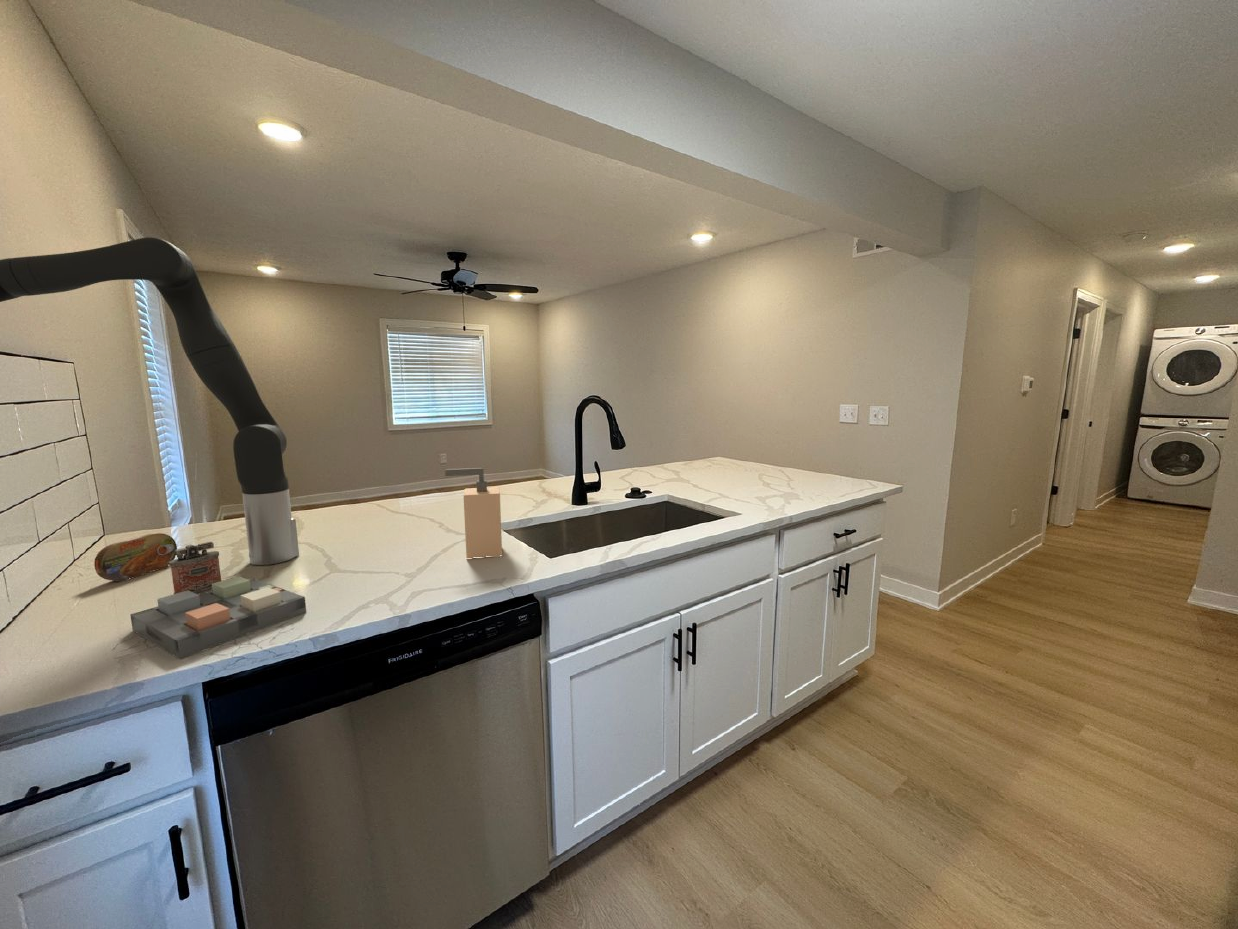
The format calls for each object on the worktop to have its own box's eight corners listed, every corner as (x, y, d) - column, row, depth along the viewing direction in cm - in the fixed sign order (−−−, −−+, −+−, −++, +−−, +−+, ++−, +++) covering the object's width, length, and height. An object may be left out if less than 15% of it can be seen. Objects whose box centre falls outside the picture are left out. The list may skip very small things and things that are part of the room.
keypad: (255, 592, 103) (253, 577, 102) (306, 612, 94) (304, 596, 93) (132, 630, 86) (130, 613, 86) (179, 659, 77) (177, 639, 77)
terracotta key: (218, 616, 87) (216, 602, 86) (230, 622, 84) (229, 608, 84) (187, 626, 83) (185, 612, 82) (199, 633, 81) (197, 618, 80)
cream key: (268, 599, 93) (267, 587, 93) (281, 604, 91) (280, 591, 91) (242, 608, 90) (240, 595, 89) (254, 614, 88) (253, 600, 87)
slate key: (189, 603, 92) (188, 590, 92) (200, 608, 90) (199, 595, 89) (159, 612, 88) (157, 599, 88) (169, 618, 86) (168, 604, 86)
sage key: (239, 588, 99) (238, 576, 98) (251, 592, 97) (249, 580, 96) (213, 596, 95) (211, 583, 95) (224, 601, 93) (222, 588, 92)
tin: (105, 587, 106) (99, 548, 104) (94, 586, 106) (88, 547, 105) (180, 563, 120) (175, 529, 119) (170, 562, 121) (165, 528, 120)
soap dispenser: (501, 546, 133) (498, 465, 130) (502, 556, 125) (499, 470, 121) (450, 550, 130) (446, 467, 126) (448, 561, 122) (443, 472, 118)
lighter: (177, 600, 99) (170, 551, 98) (171, 596, 101) (164, 548, 99) (225, 586, 106) (220, 541, 104) (219, 583, 108) (213, 538, 106)
